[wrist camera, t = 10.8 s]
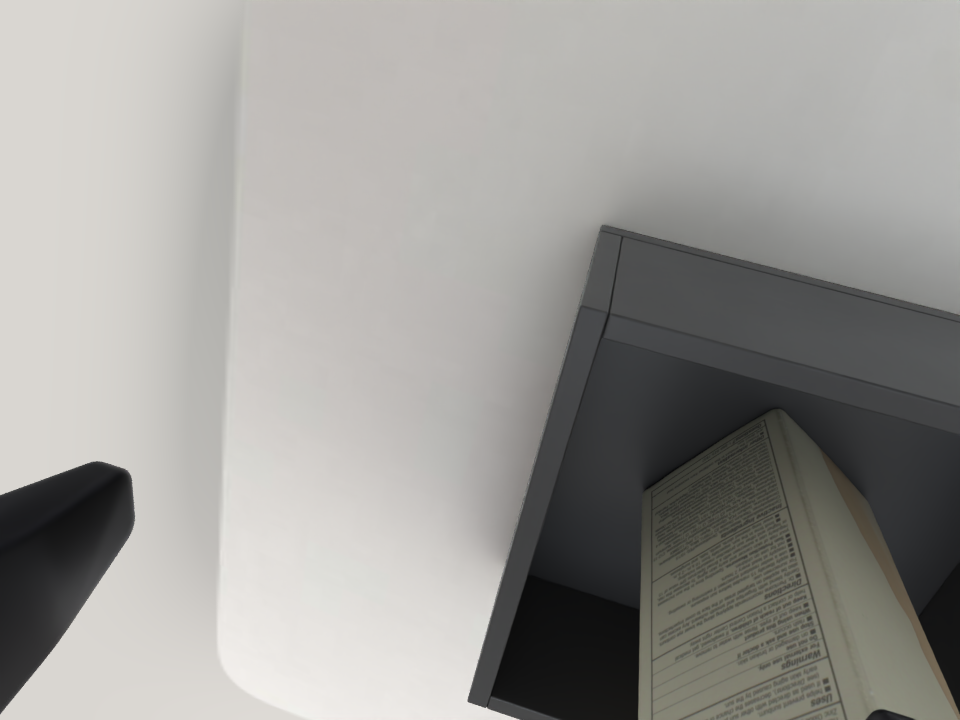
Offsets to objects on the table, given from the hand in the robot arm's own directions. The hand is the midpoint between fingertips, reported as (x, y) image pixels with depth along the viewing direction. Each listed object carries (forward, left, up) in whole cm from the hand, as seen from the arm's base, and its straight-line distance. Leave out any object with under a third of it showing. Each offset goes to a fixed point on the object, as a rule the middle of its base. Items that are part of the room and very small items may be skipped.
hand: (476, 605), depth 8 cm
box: (+7, -6, -12) cm, 15 cm away
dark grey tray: (+7, -6, -13) cm, 16 cm away
